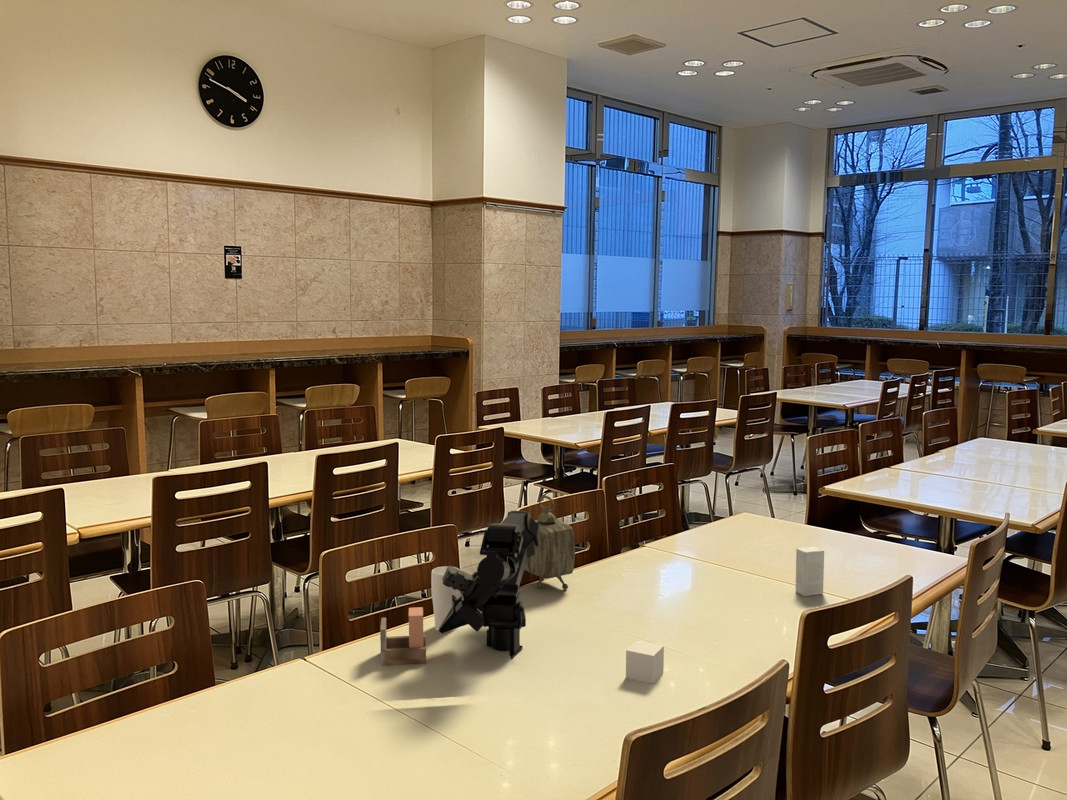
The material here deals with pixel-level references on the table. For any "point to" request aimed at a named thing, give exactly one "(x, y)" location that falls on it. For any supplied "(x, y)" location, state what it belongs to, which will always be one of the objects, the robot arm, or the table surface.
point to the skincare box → (809, 571)
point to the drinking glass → (441, 596)
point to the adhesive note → (644, 661)
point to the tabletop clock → (552, 548)
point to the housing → (400, 649)
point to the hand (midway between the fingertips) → (440, 631)
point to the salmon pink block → (416, 627)
